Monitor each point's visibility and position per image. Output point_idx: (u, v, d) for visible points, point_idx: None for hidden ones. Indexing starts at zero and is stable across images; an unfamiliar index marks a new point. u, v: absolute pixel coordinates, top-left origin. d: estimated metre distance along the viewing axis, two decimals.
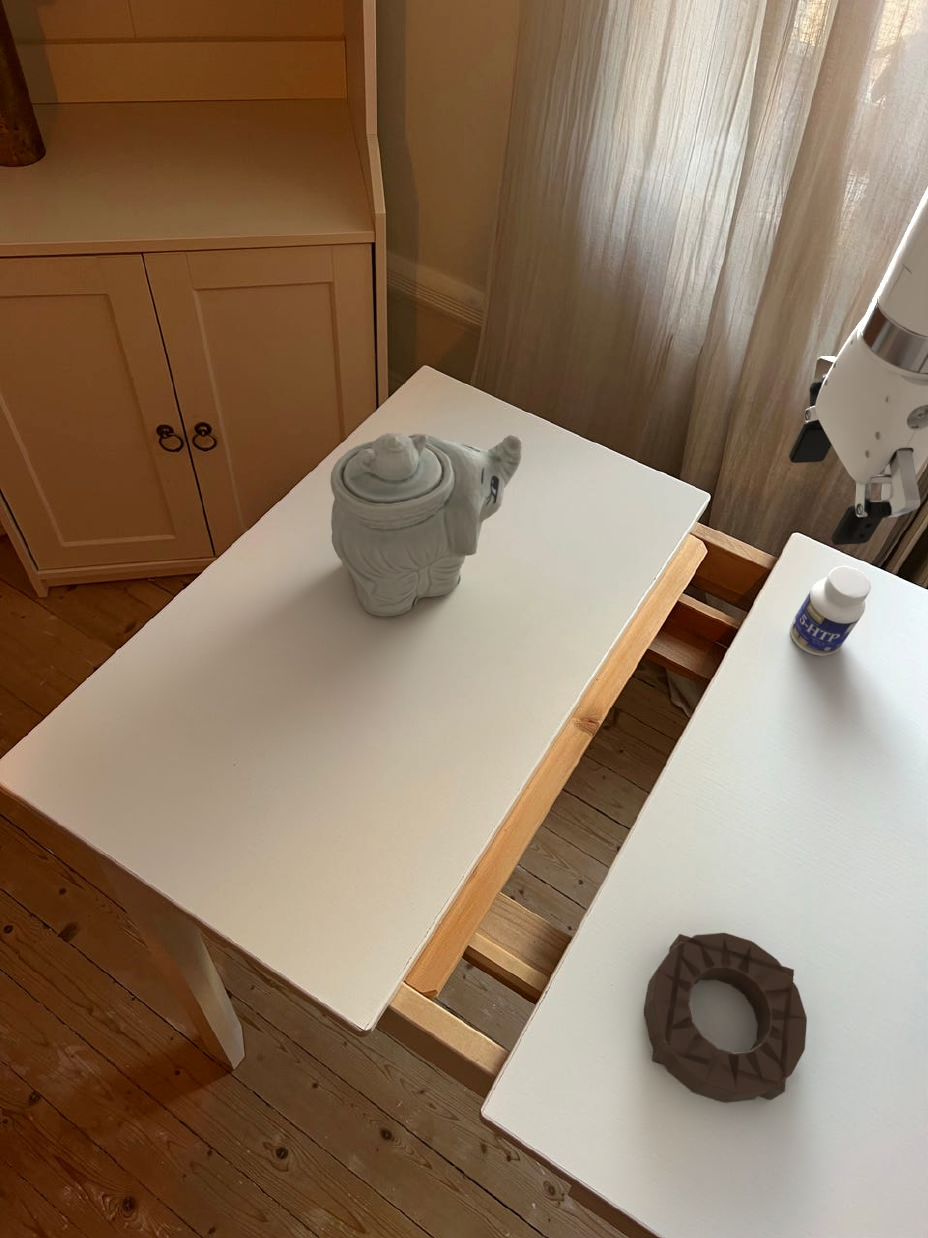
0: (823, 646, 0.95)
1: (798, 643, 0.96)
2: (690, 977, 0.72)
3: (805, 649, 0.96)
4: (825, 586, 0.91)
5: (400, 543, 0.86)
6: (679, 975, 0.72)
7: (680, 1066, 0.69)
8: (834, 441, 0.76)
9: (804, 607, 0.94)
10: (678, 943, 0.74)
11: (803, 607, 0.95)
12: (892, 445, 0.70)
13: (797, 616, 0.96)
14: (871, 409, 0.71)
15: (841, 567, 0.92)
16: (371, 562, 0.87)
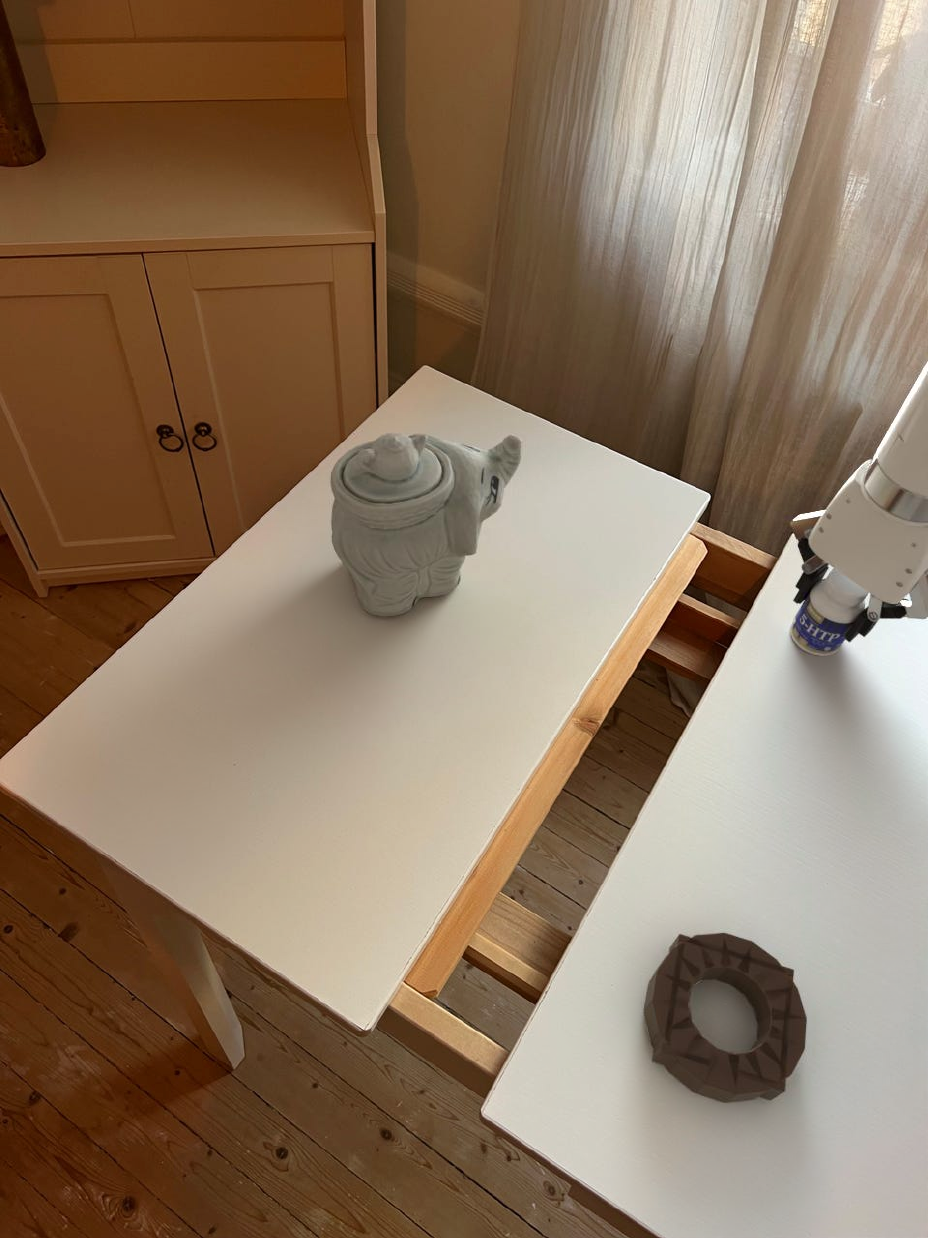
0: (823, 646, 0.95)
1: (798, 643, 0.96)
2: (690, 977, 0.72)
3: (805, 649, 0.96)
4: (825, 586, 0.91)
5: (400, 543, 0.86)
6: (679, 975, 0.72)
7: (680, 1066, 0.69)
8: (849, 574, 0.88)
9: (804, 607, 0.94)
10: (678, 943, 0.74)
11: (803, 607, 0.95)
12: (921, 573, 0.83)
13: (797, 616, 0.96)
14: (895, 552, 0.82)
15: None
16: (371, 562, 0.87)
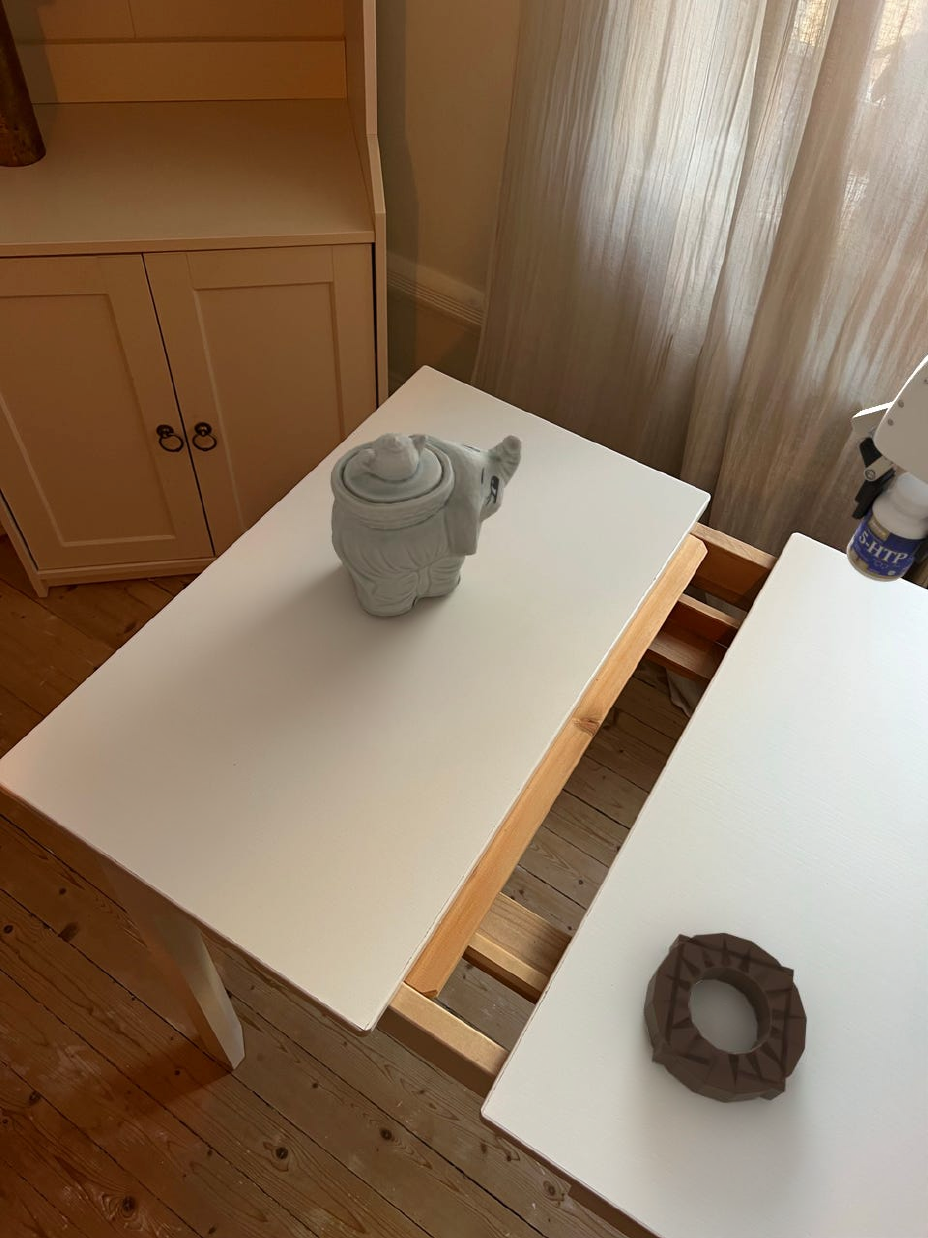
0: (887, 569, 0.80)
1: (857, 567, 0.82)
2: (690, 977, 0.72)
3: (864, 574, 0.82)
4: (891, 494, 0.77)
5: (400, 543, 0.86)
6: (679, 975, 0.72)
7: (680, 1066, 0.69)
8: (923, 476, 0.73)
9: (865, 523, 0.80)
10: (678, 943, 0.74)
11: (863, 523, 0.81)
12: None
13: (856, 535, 0.82)
14: None
15: None
16: (371, 562, 0.87)
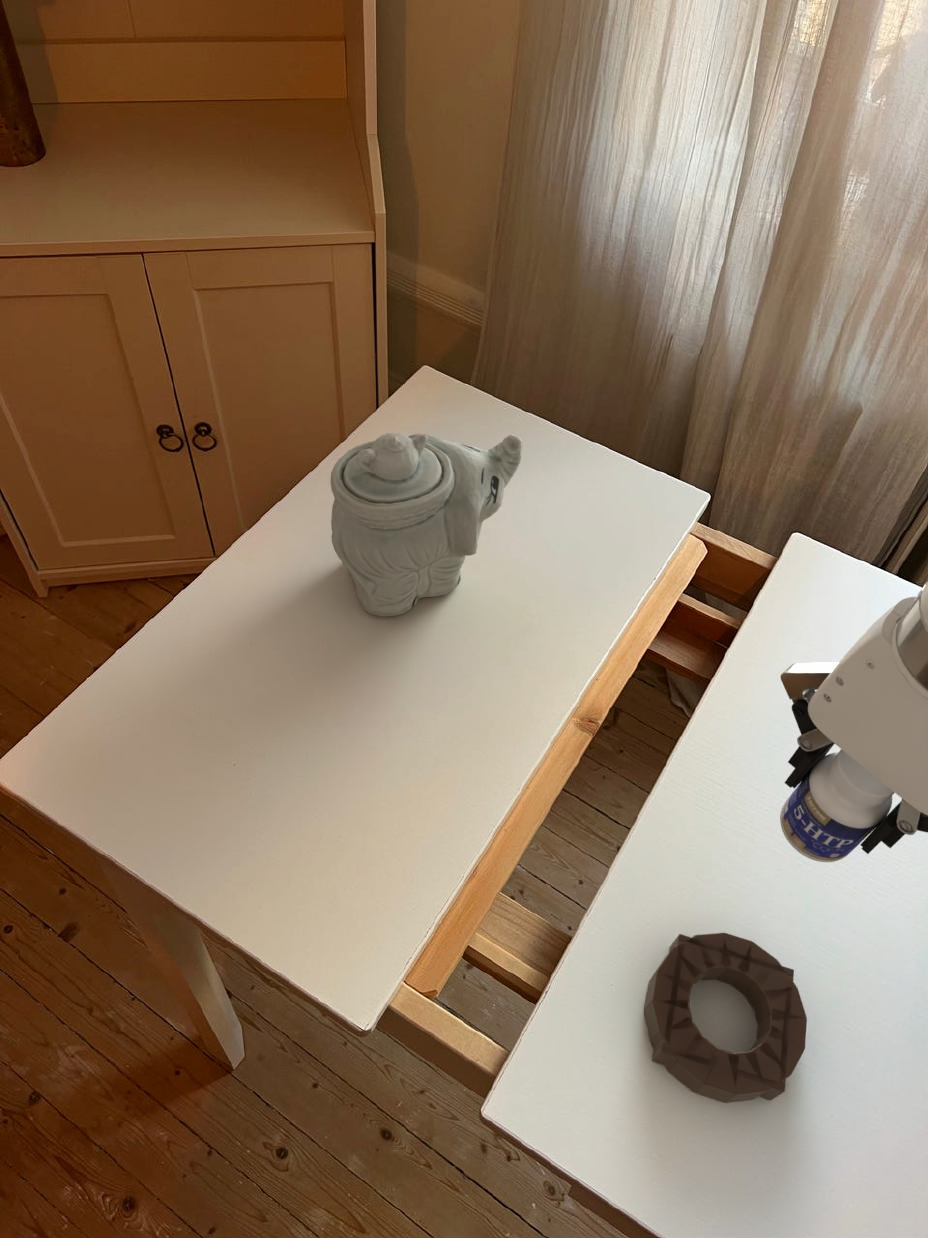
0: (829, 853, 0.64)
1: (792, 843, 0.65)
2: (690, 977, 0.72)
3: (801, 852, 0.65)
4: (832, 772, 0.60)
5: (400, 543, 0.86)
6: (679, 975, 0.72)
7: (680, 1066, 0.69)
8: (870, 767, 0.57)
9: (801, 796, 0.63)
10: (678, 943, 0.74)
11: (799, 794, 0.64)
12: None
13: (790, 804, 0.65)
14: None
15: None
16: (371, 562, 0.87)
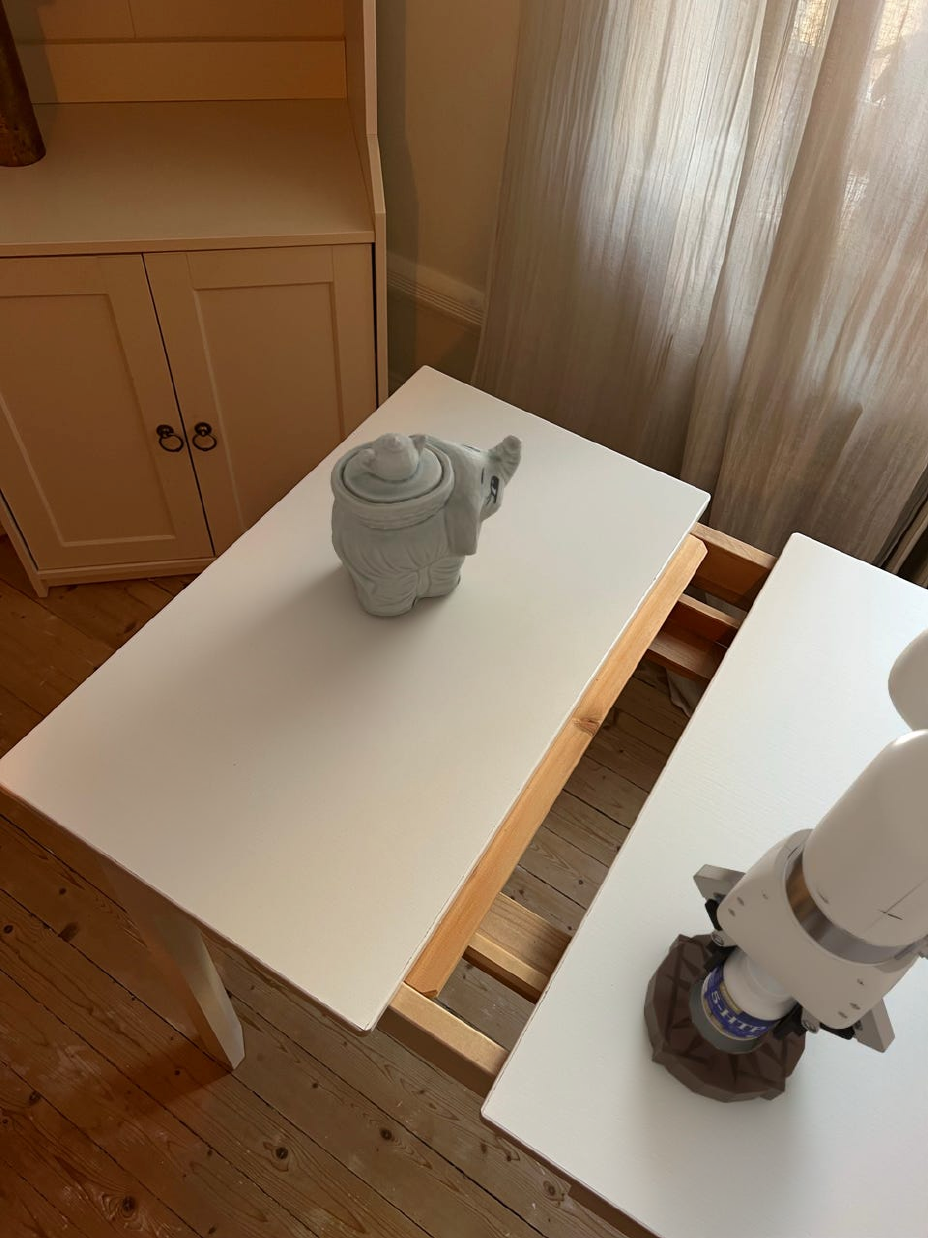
0: (744, 1034, 0.67)
1: (711, 1022, 0.69)
2: (690, 977, 0.72)
3: (720, 1031, 0.69)
4: (742, 968, 0.64)
5: (400, 543, 0.86)
6: (679, 975, 0.72)
7: (680, 1066, 0.69)
8: (772, 975, 0.60)
9: (717, 982, 0.67)
10: (678, 943, 0.74)
11: (716, 980, 0.67)
12: (873, 1007, 0.56)
13: (709, 985, 0.68)
14: (835, 981, 0.55)
15: None
16: (371, 562, 0.87)
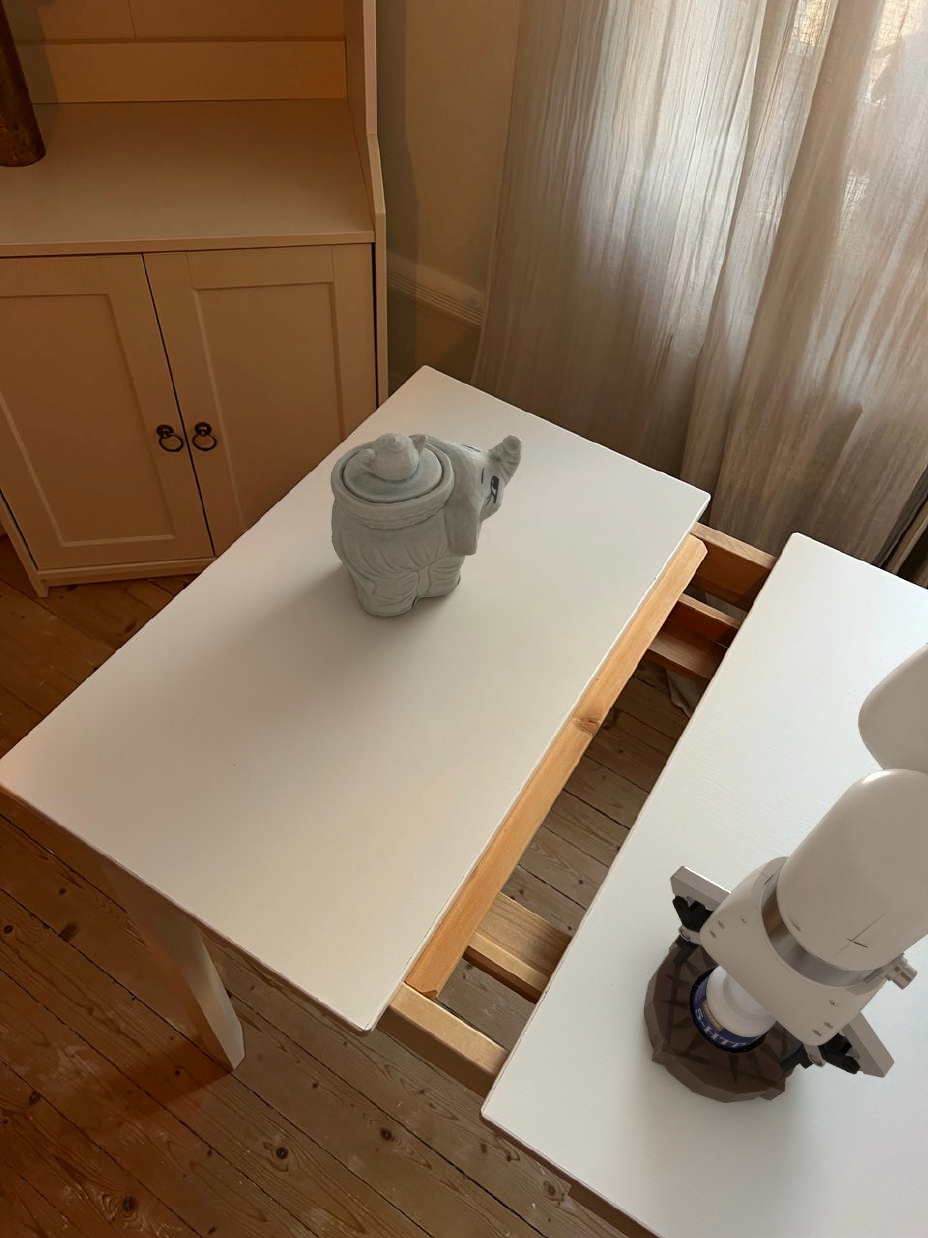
0: (726, 1050, 0.71)
1: None
2: (690, 977, 0.72)
3: None
4: (724, 988, 0.67)
5: (400, 543, 0.86)
6: (679, 975, 0.72)
7: (680, 1066, 0.69)
8: (752, 994, 0.63)
9: (700, 1000, 0.70)
10: None
11: (699, 998, 0.71)
12: (845, 1025, 0.59)
13: (693, 1002, 0.72)
14: (809, 1001, 0.58)
15: None
16: (371, 562, 0.87)
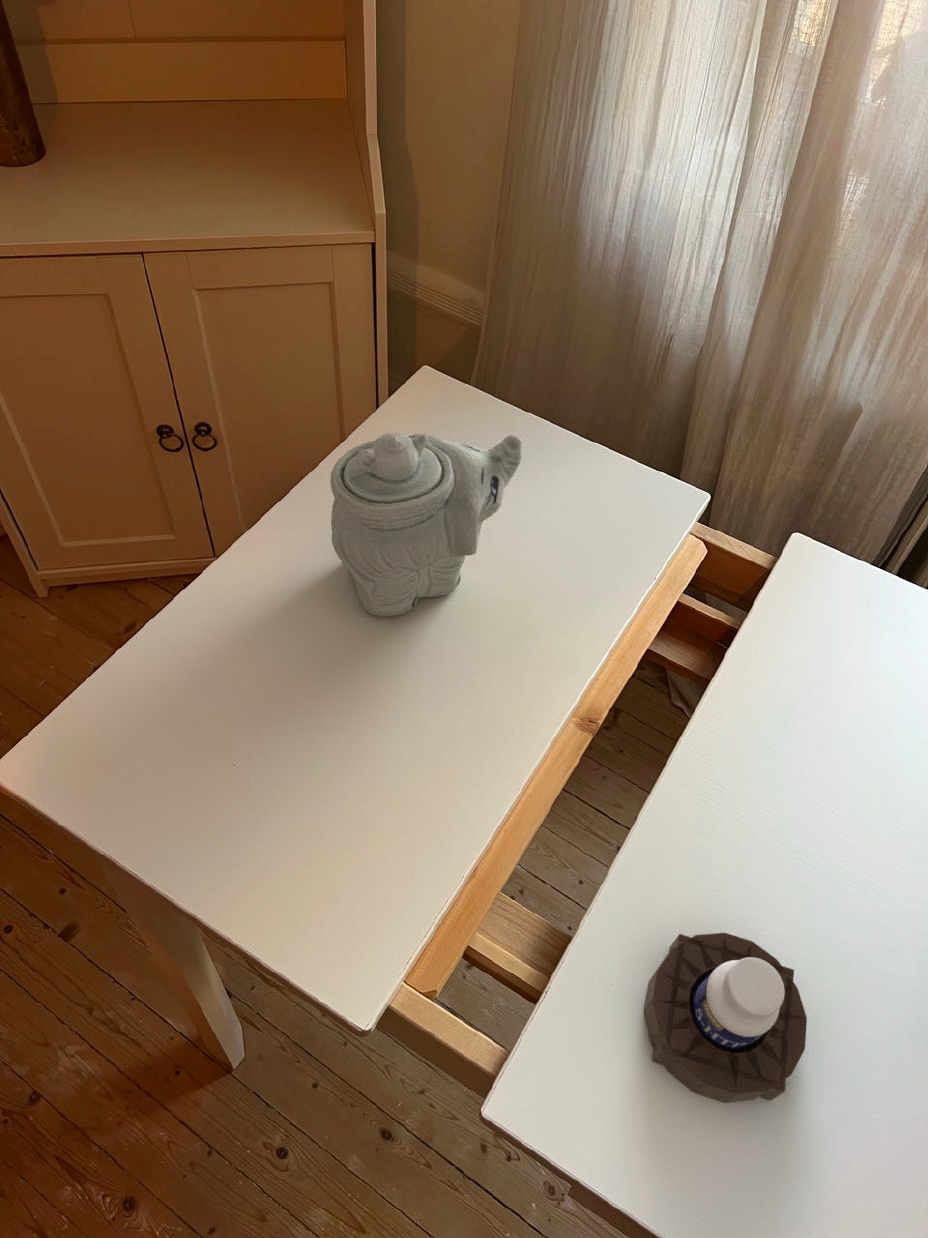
0: (726, 1050, 0.71)
1: None
2: (690, 977, 0.72)
3: None
4: (724, 988, 0.67)
5: (400, 543, 0.86)
6: (679, 975, 0.72)
7: (680, 1066, 0.69)
8: None
9: (700, 1000, 0.70)
10: (678, 943, 0.74)
11: (699, 997, 0.71)
12: None
13: (693, 1002, 0.72)
14: None
15: (746, 960, 0.68)
16: (371, 562, 0.87)
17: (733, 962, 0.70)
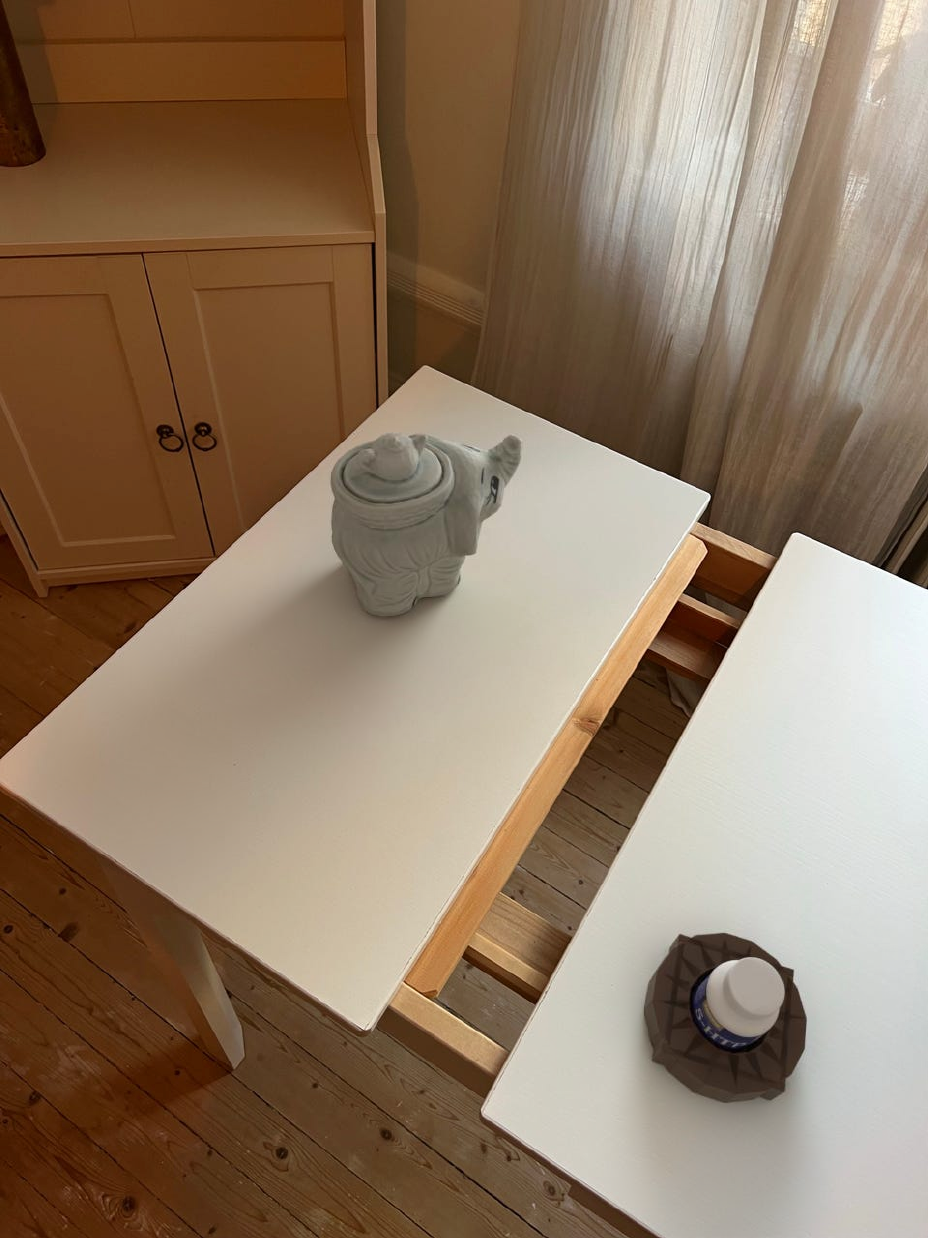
0: (726, 1050, 0.71)
1: None
2: (690, 977, 0.72)
3: None
4: (724, 988, 0.67)
5: (400, 543, 0.86)
6: (679, 975, 0.72)
7: (680, 1066, 0.69)
8: None
9: (700, 1000, 0.70)
10: (678, 943, 0.74)
11: (699, 997, 0.71)
12: None
13: (693, 1002, 0.72)
14: None
15: (746, 960, 0.68)
16: (371, 562, 0.87)
17: (733, 962, 0.70)
